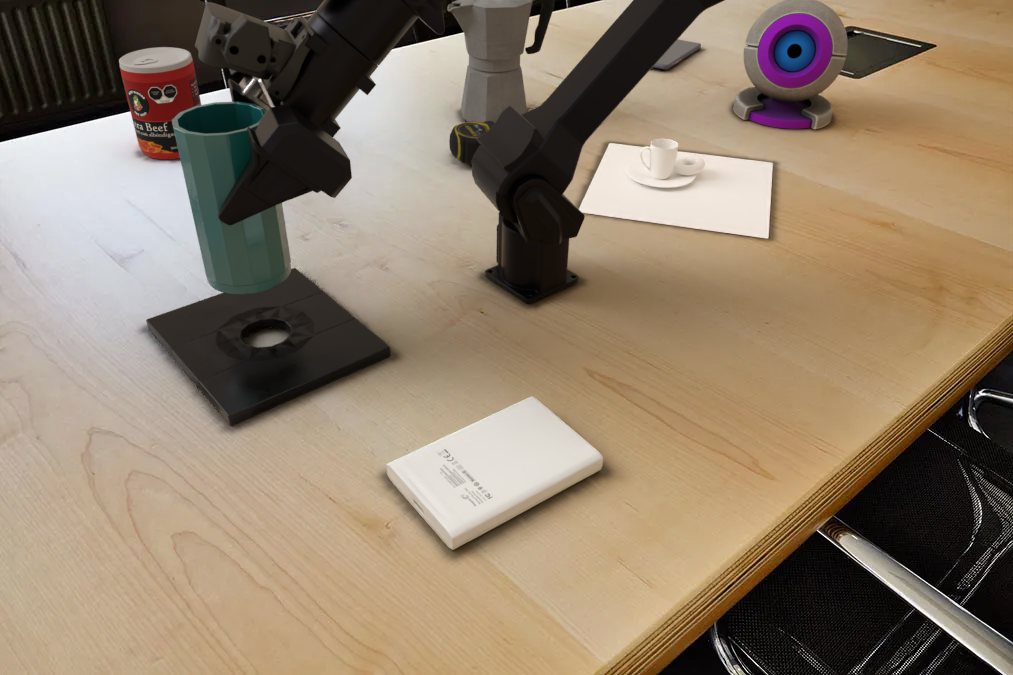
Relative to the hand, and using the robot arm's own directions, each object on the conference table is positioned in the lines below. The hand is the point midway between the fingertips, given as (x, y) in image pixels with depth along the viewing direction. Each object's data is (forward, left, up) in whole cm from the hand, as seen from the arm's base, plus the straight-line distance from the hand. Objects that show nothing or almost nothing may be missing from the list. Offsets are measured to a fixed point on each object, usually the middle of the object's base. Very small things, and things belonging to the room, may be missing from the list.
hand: (217, 200), depth 65 cm
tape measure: (+17, -39, -13) cm, 44 cm away
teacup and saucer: (-3, -52, -13) cm, 54 cm away
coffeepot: (+27, -50, -13) cm, 58 cm away
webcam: (+4, -81, -13) cm, 82 cm away
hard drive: (-26, -6, -13) cm, 30 cm away
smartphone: (+31, -87, -12) cm, 93 cm away
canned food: (+42, -11, -13) cm, 45 cm away
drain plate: (-2, -1, -12) cm, 13 cm away
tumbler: (0, -1, -7) cm, 7 cm away
